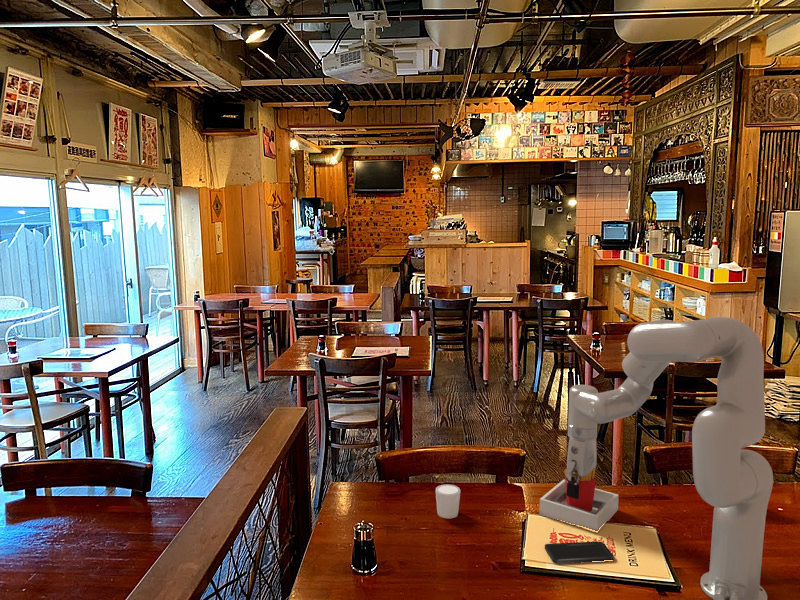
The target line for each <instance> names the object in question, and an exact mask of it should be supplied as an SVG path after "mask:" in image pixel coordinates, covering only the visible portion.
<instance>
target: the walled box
mask: <svg viewBox="0 0 800 600" xmlns="http://www.w3.org/2000/svg"><path fill="white" fill-rule="evenodd" d="M619 497H620V496H619V494H617V493H614V492H610V491H606V490H602V489H598V488H596V487H595V493H594V500H593V508H592V511H591V512H590V511H586V510H583V509H580V508H577V507H573V506H570V505H567V496H566V483H565V478H563V479H562V480H561V481H560V482H558V483H557V484H556V485H555V486H553V487H552V488H551V489H550V490H549V491H548V492H546V493H545V494H544V495H543V496H541V498H539V510H538V511H539V512H538V515H539V516H542V517H545V516H546V518H548V517H550V518H549V519H551V518H554V519H558V520H562V521H565V522H568V523H571V524H575V525H579V526H583V527H586V528H589V529H592V530H595V531H598V530H599V528H600V527H601V526H602V525H603V524H604V523H606V522H607V521H608V522H609V521H610V520H611V518H612V517H613V516H614V515H615V514H616V513H617V511H618V510H619ZM554 519H553V520H554ZM606 524H607V523H606Z"/></svg>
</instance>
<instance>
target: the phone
mask: <svg viewBox="0 0 800 600" xmlns="http://www.w3.org/2000/svg"><path fill="white" fill-rule="evenodd" d="M544 550H545V552H546V554H547V555H548V557H549V559H550V560H551V562H552V563H553V564H554V565H570V564H572V565H573V563H574V564H582V563H581V562H592V561H604V560H614V561H615V556H614V554H613V553H612V551H611V550H610V549H609V547H608V546H607V545H606V544H605V542H603V541H599V540H598V541H578V542H574V541H573V542H558V543H557V542H554V543H553V542H552V543H551V542H549V543H545V544H544Z"/></svg>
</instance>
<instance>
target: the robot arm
mask: <svg viewBox="0 0 800 600" xmlns="http://www.w3.org/2000/svg"><path fill="white" fill-rule="evenodd" d="M627 349H628V351H629V353H627V354H626V356H625V357H624V358H623V360H622V362H621V366H622V367H621V368H622V370H623V372H624V373H625V375H626V376H627V378H626V379H625V380H624V381H623V382H622V384H621V385H619V386H618V388H616V389H612V390H607V391H603V392H599V391H598V389H597V388H596V387H595V386H592V385H588V384H576V385H575V384H574V385H572V386H571V387H570V388H569V392H568V395H569V396H568V416H567V417H568V418H567V436H568V437H569V438H568V439H569V440H568V447H567V459H566V469H567V471H566V476H567V477H566V476H565V478H566V479H567V496H568V497H571V498H575V499H578V498H579V484H578V482H579V479H580V476H582V477H585V476H587V475H588V474H589V473H590V472H591V471H592V470H593V469H595V470H596V467H597V459H598V458H597V455H598V454H597V438H598V436H597V434H598V433H597V432H598V424H606V423H610V422H614V421H617V420H620V419H625V418H628V417H630V416H632V415H633V414H635V413H636V412H637V411H638V410H639V409H640V408H641V407H642V406H643V404H644V403H646V402H647V400H648V399H649V398H650V396H651V394H652V391H653V388H654V382H655V381H656V379H657V378H658V377H659V376H660V375H661V373H663V372H664V370H665V369H666V368H668V366H669V365H670V364H671V363H673V362H674V363H675V362H677V363H679V362H680V363H693V362H694V363H695V362H703V361H706V360H711V359H715V358H720V359H721V364H720V367H719V370H718V374H717V378H716V379H717V380H716V387H717V388H716V389H717V398H716V404H715V405H712V406H709V407H706V408H705V409H703V410H701V411H700V412H699V413H698V414H697V416H696V417H695V419H694V421H693V424H692V428H691V429H692V430H691V441H692V442H691V443H692V446H691V449H692V451H691V452H692V474H693V475H692V476H693V482H694V486H695V489H696V492H697V493H698V494H699V496H700V498H701V499H702V500H703V501H704V502H705V503H706V504H708V505H710V506H712V507H714V508H713V517H712V532H711V544H710V546H711V547H710V555H709V556H710V557H709V558H710V559H709V560H710V561H709V571H707V572H705V573H703V574H702V576H701V577H700V582H699V583H700V587H701V589H702V591H703V592H704V593H705V595H707V596H708V597H709V598H711V599H712V600H768V594H767V592H766V590H765V589H764V588H763V587H762V586H761V575H762V574H761V573H762V571H761V570H762V562H763V561H762V560H763V550H764V549H763V548H764V539H765V538H764V537H765V527H766V518H767V517H766V516H767V510H768V506H769V501H770V499H771V498H770V497H771V493H772V490H773V486H774V485H773V484H774V475H773V474H774V473H773V470H772V467H771V465H770V463H769V462H768V460H767V459H766V458H765V457H764V456H763V455H761V454H760V453H758V452H757V451H755V450H752V449H751V450H750V449H745V448H747V447H750V446H752V445H755V444H757V443H758V442H759V441H761V440H762V438H763V437H764V435H765V432H766V415H765V413H766V410H765V408H766V406H765V384H764V381H765V380H764V377H765V376H764V373H765V371H764V369H765V367H764V366H765V358H764V357H765V356H764V355H765V354H764V350H763V345H762V342H761V339H760V337H759V336H758V335H757V333H756V332H755V330H753V329H752V328H751V326H748V325H747V324H746V323H745V322H743V321H740V320H738V319H736V318H732V317H728V316H727V317H725V316H715V317H709V318H703V319H695V320H691V321H689V320H688V321H679V322H678V321H675V320H670V319H660V320H653V321H651V320H650V321H644V322H640V323H639V324H636V325H635V326H634V327H632V329H631V330H630V332H629V333H628V335H627ZM573 471H577V472H578V473H576V472H573ZM573 475H575V476H576V480H575V478H574V477H573Z"/></svg>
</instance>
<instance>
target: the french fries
mask: <svg viewBox="0 0 800 600" xmlns="http://www.w3.org/2000/svg"><path fill="white" fill-rule="evenodd" d="M566 471H567V468H565V469H564V470H563V473H564V476H565V478H564V480H565V483H566V496H567V479H566V477H567V476H566ZM573 472H576V473H578V472H577V471H573ZM595 475H596V468H595V469H593V470H592V471H591V472H590V473H589V474H588V475H587V476H585V477H582V476H580V479H579V482H578V484H579V498H578V499H575V498H571V497H568V496H567V505H570V506H573V507H577V508H580V509H583V510H586V511H590V512H591V511H592V508H593V500H594V493H595V488H596V483H597V479H596V478H595ZM573 477H574V478H575V480H576V476H575V475H573Z"/></svg>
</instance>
